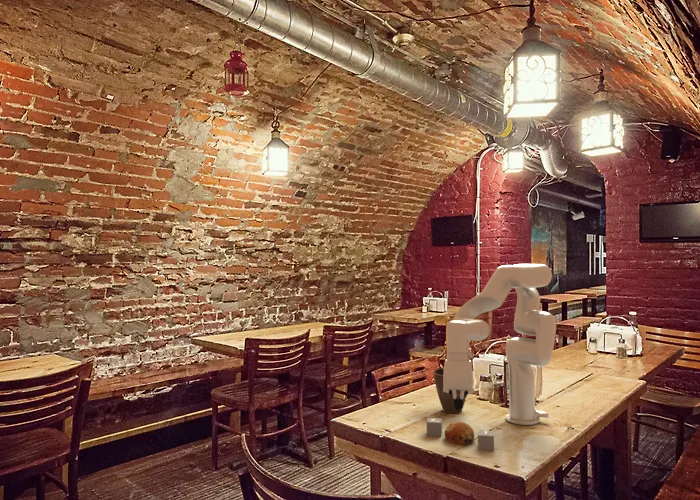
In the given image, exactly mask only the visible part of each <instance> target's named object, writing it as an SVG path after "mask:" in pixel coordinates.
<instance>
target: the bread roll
mask: <svg viewBox="0 0 700 500" xmlns="http://www.w3.org/2000/svg"><path fill="white" fill-rule="evenodd" d="M444 438H445V441H447V442H448V443H449V444H452V445H456V446H462V445H463V446H465V445H470V444H472V443H473V442H474V440H475V433H474V430H473V428H472V427H471V425H469V424H468V423H466V422H463V421H454V422H450V424H449V425H448V426H447V427H446V428H445V429H444Z"/></svg>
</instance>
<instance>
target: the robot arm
mask: <svg viewBox="0 0 700 500" xmlns="http://www.w3.org/2000/svg"><path fill="white" fill-rule="evenodd" d="M552 278H553V273H552V269H551V268H550V267H549V266H548V265H546V264H544V263H518V264H517V263H516V264H513V265H512V264H504V265H500V266H498V267H496V269H495V270H494V272H493V273H492V275H491V277H490V278H489V280H488V282H487V283H486V285H485V286H484V288H483V289H482V291H481V292H480V293H478V294H477V295H476V296H474V297H472V298H471V299H470V300H468V301H466V302H465V303H464V304H462V305H461V307H459V309H458V310H457V312H456V314H455V315H454V317H453V318H452V320H449V321H448V322H447V323H446V359H445V360H444V363H443V364H444V366H443V368H444V375H443V385H444V387H443V392H446V393H449V394H450V395H451V396H452V397H453V398H454V407H455V408H456V411H458V410H459V411H461V408H463V409H464V406H463V398H464V397H465V396H466V395H467V396H468V395H473V394H474V393H475V389H474V386H475V385H474V381H475V380H474V369H473V368H474V367H473V362H472V360H471V359H472V358H474V353H471V352H470V341H476V342H479V341H484V340H486V339H487V338H488V336H489V335H490V332H491V330H490V329H491V328H490V325H489V323H487V322H486V321H485V320H483V319H479V318H476V317H477V316H480V315H482V314H483V313H487V312H490V311H493V310H497V309H498V308H499V309H500V307H501V306H503V304H504V302H505V300H506V299H507V297H508V296H509V294H510V292H511V291H512V289H515V292H516V297H517V299H516V300H517V301H516V305H515V313H514V321H513V328H514V331H516V333H519V334H521V335H527V336H533V337H534V336H535V339H533V338H528V337H522V336H521V337H519V336H515V337H511V338H510V339H509V340H507V341H506V344H505V348H504V349H505V356H506V361H507V367H508V399H509V400H508V401H509V403H508V405H509V411H508V412H509V413H507V414H505V416H504V417H505V420H506V421H507V422H509V423H512V424H515V425H521V426H522V425H523V426H533V425H537V424H539V423H540V422H541V418H547V419H548V418H549V412H545V410H538V409H537V407H536V381H535V380H536V376H535V372H534V368H533V367H532V366H536V367H537V366H538V367H547V365H549V364H550V362H551V361H552V358H553V353H554V345H555V339H556V334H557V333H556V332H557V323H556V322H557V321H556V319H555V317H554V315H553V314H552V313H551V312H548V311H542V310H541V311H540V304H541V296H540V294H539V291H538V290H537V288H542V287H546V286H548V285H549V284H550V283H551V282H552V281H551V280H552ZM456 390H461V394H460V396H459V398H458V396H457V391H456ZM467 396H466V397H467ZM461 412H462V411H461Z"/></svg>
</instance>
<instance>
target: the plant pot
mask: <svg viewBox="0 0 700 500" xmlns="http://www.w3.org/2000/svg"><path fill="white" fill-rule="evenodd" d="M432 372H433V379H434V384H435V388H436V393H437V396H438V399H439V402H440V405H441V407H442V411H443V412H445V413H448V414H458V413H461V412H462V411H463V409H464V405H465V404H466V403H465V402H466V401H467V400H466V399H467V396H468V395H466V396H465V397H464V398H463V408H461V411H459V410H458V411H456V408H455V407H454V398H453V397H452V396H451V395H450V394H449V393H446V392H443V387H444V385H443V375H444V367H442V368H437V369H434V370H433V371H432ZM456 391H457V396H458V398H459V396H460V394H461V390H456Z"/></svg>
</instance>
